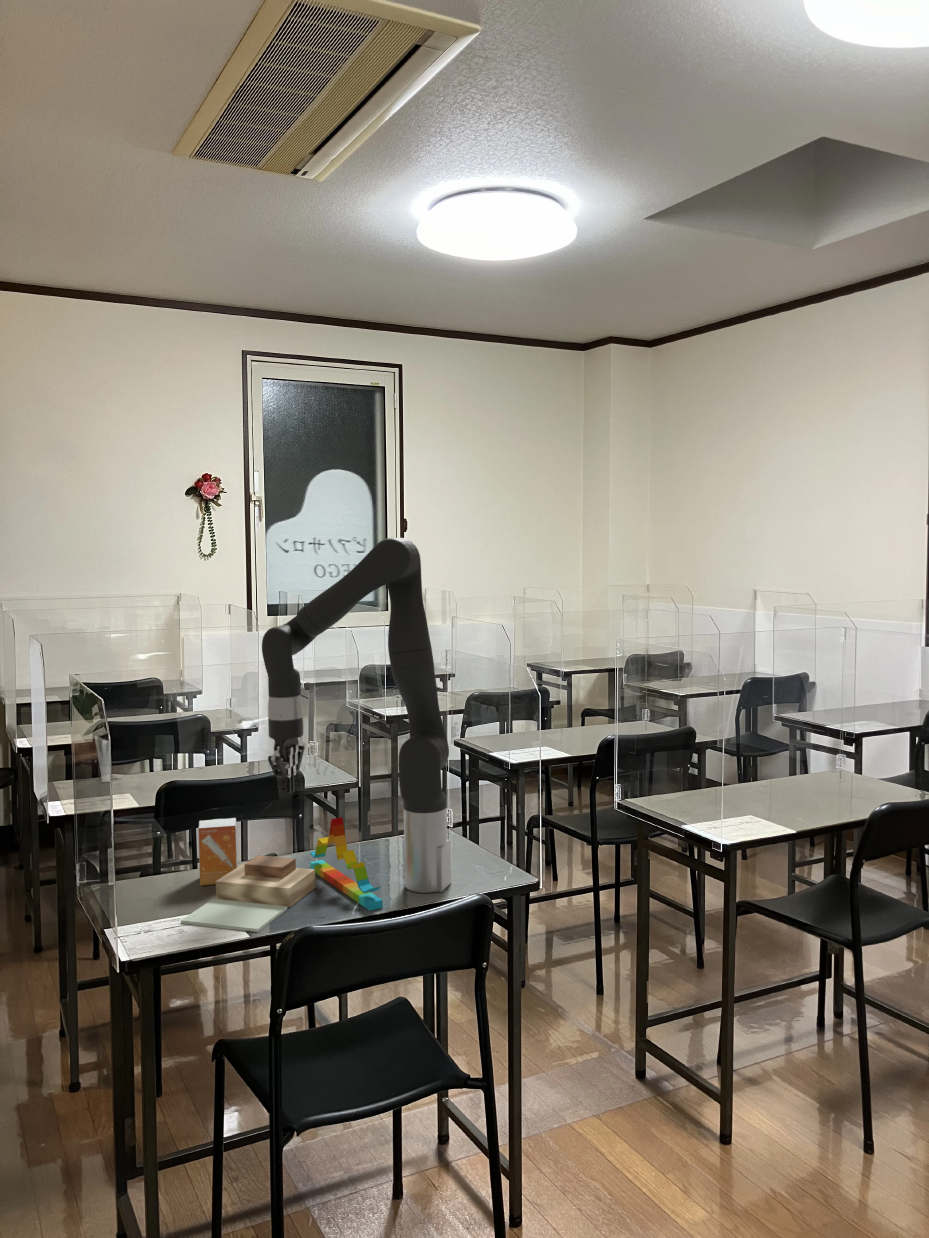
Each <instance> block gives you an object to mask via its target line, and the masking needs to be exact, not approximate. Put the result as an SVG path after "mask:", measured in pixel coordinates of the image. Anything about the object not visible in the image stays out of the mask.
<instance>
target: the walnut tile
mask: <svg viewBox="0 0 929 1238" xmlns="http://www.w3.org/2000/svg"><path fill="white" fill-rule="evenodd" d="M296 860H297V858H295V857H294V858H293V857H283V856H282V857H281V856H271V855H256V856H255V857H253V858H252V859H250V860H249V861H247V862H244V863H245V864H244V863H243V864H244V867H245V875H250V876H260V877H271V878H281V879H283V878H284V877H286V876H287V875H289V874H290V873H292V872H293V871H294V870H296V868H297V863H296V862H297V861H296Z"/></svg>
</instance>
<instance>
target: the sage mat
mask: <svg viewBox="0 0 929 1238" xmlns="http://www.w3.org/2000/svg"><path fill="white" fill-rule="evenodd" d="M287 910H288V907H287V906H278V905H268V904H259V903H249V902H240V901H230V900H221V899H216V898H212V899H211V900H210V901H208V902H206V903H204V904H203V905H202V906H201V907H198V909H195V910H194V911H193V912H192V913H190V914H188V915H187V916H185V917H183V918H182V919H181V920H180V923H181V924H186V925H194V926H200V927H202V926H203V927H211V928H219V929H220V928H221V929H229V930H236V931H237V930H238V931H246V932H253V933H258V932H260V931H261V930H263V929H264V928H265V927H266V926H268V925H269V924H270V923H271V922H273V921H274V920H275V919H277V918H278V917H279V916H281V915H282V914H283V913H285V912H286V911H287Z"/></svg>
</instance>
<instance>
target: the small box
mask: <svg viewBox="0 0 929 1238" xmlns="http://www.w3.org/2000/svg"><path fill="white" fill-rule="evenodd" d="M237 844H238V843H237V818H236V817H231V818H214V819H207V820H206V819H205V820H199V821H198V859H199V861H198V862H199V863H198V864H199V885H200V886H209V885H216V881H217V880H218V879H220V878H222V877H223V876H225V875H226V874H228V873H230V872H231V871H233V870H234V869H236V868H238V852H237V851H238V850H237V849H238V847H237V846H238V845H237Z"/></svg>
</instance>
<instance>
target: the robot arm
mask: <svg viewBox="0 0 929 1238" xmlns="http://www.w3.org/2000/svg"><path fill="white" fill-rule="evenodd" d="M422 580H423V579H422V560H421V554H420V552H419V549H418V548H417V546H416V544H414V542H413V541H411V540H410V539H408V538H405V537H389V538H388V537H386V538H384V539H382V540H380V541H378V543H376V544H375V546H374V547H373V548H371V549H370V551H369V552H367V554H366V555H365V556H364V557H363V558H362V559H361V561H359V562H358V564H356V565H355V566H354V567H353V568H352V569H350V571H348V572H347V574H346V575H344V576H343V577H341V578H340V579H339V580H338V581H336V582H335V583H334V584H332V585H331V586H329V588H327V589H325V590H324V591H322V592H321V593H320V594H318V595H317V596H316V597H314V598H313V599H311V600H310V601H309V602H307V603H306V604H305V605H304V606H302V607H301V608H300V609H299V610H298V611H297V613H296V615H295V616H294V617H293V618H291V619H290V620H289V621H288V622H286V623H284V624H283V625H279V626H274V627H270V628H269V629H268V630H266V632H265V633H264V635H263V636H262V641H261V655H262V659H263V663H264V666H265V667H264V668H265V672H266V674H267V677H268V679H267V681H268V683H267V685H268V686H267V687H268V689H267V690H268V700H267V701H268V702H267V721H268V737H269V738H270V739H273V740H274V746H273V754H272V755H269V756H268V758H267V761H268V764H269V766H270V769H271V771H272V772H273V775H274V776H275V777H278V778H279V779H280V793H281V794H282V795H290V794H293V793H294V792H295V791H296V790H295V776H296V775H297V772H298V771H299V770H300V768H301V763H302V760H303V756H304V752H305V745H300V743H299V738H302V737H303V736H304V720H303V719H304V717H303V714H304V713H303V700H302V691H301V690H302V689H301V686H302V685H301V683H302V682H301V681H302V680H301V675H300V671H299V670H298V669H296V668H295V666H294V660H293V659H294V658H293V656H294V655H296V654H298V653H299V652H301V651H303V650H304V649H305V648H306V647H308V646H309V645H310V644H311V643H312V642H313V641H314V640H315V639H316V638H317V637H318V636H319V635H321V634H323V633H324V632H325V631H327V630H328V629H330V628H332V627H333V626H334V625H335V624H337V622H339V621H340V620H342V619H343V618H344V617H345V616H346V615H347V614H348V613H350V611H351V610H352V609H353V608H354V607H355V606H356V605H358V603H360V602H361V601H362V600H363V599H364V598H366V597H367V596H368V595H370V594H371V593H373V592H374V591H376V590H378V589H380V588H382V587H384V586H385V585H387V591H388V596H389V602H390V614H389V615H390V616H389V624H388V635H387V650H388V656H389V664H390V670H391V675H392V678H393V681H394V683H395V686H396V688H397V690H398V692H399V694H400V697H401V699H402V701H403V704H404V705H405V706H404V707H405V708H406V713H407V718H408V727H409V738H408V739H407V740H406V741H404V743H403V744H402V745H401V747H400V749H399V754H398V777H399V778H398V779H399V792H400V797H401V799H402V803H403V842H404V843H403V847H404V851H403V852H404V886H405V889H407V890H409V891H411V892H415V893H420V894H421V893H427V894H428V893H435V892H436V893H437V892H439V893H441V892H442V893H443V892H444V891H445V890H446V888H448V886H450V884H451V883H452V872H451V871H452V868H451V865H452V864H451V861H452V859H451V858H452V857H451V840H450V839H448V822H447V821H448V819H447V816H448V815H447V795H446V793H445V792H444V791H443V789H442V787H443V786H442V772H441V771H442V769H443V768H444V767H445V765H446V764H447V762H448V760H449V758H450V757H449V756H450V749H449V748H450V747H449V743H448V742H449V741H448V739H447V735H446V730H445V727H444V722H443V718H442V715H441V710H440V705H439V697H438V696H439V695H438V687H437V679H436V673H435V664H434V655H433V648H432V644H431V643H432V642H431V637H430V632H429V627H428V625H429V624H428V619H427V615H426V609H425V604H424V597H423V583H422Z"/></svg>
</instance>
